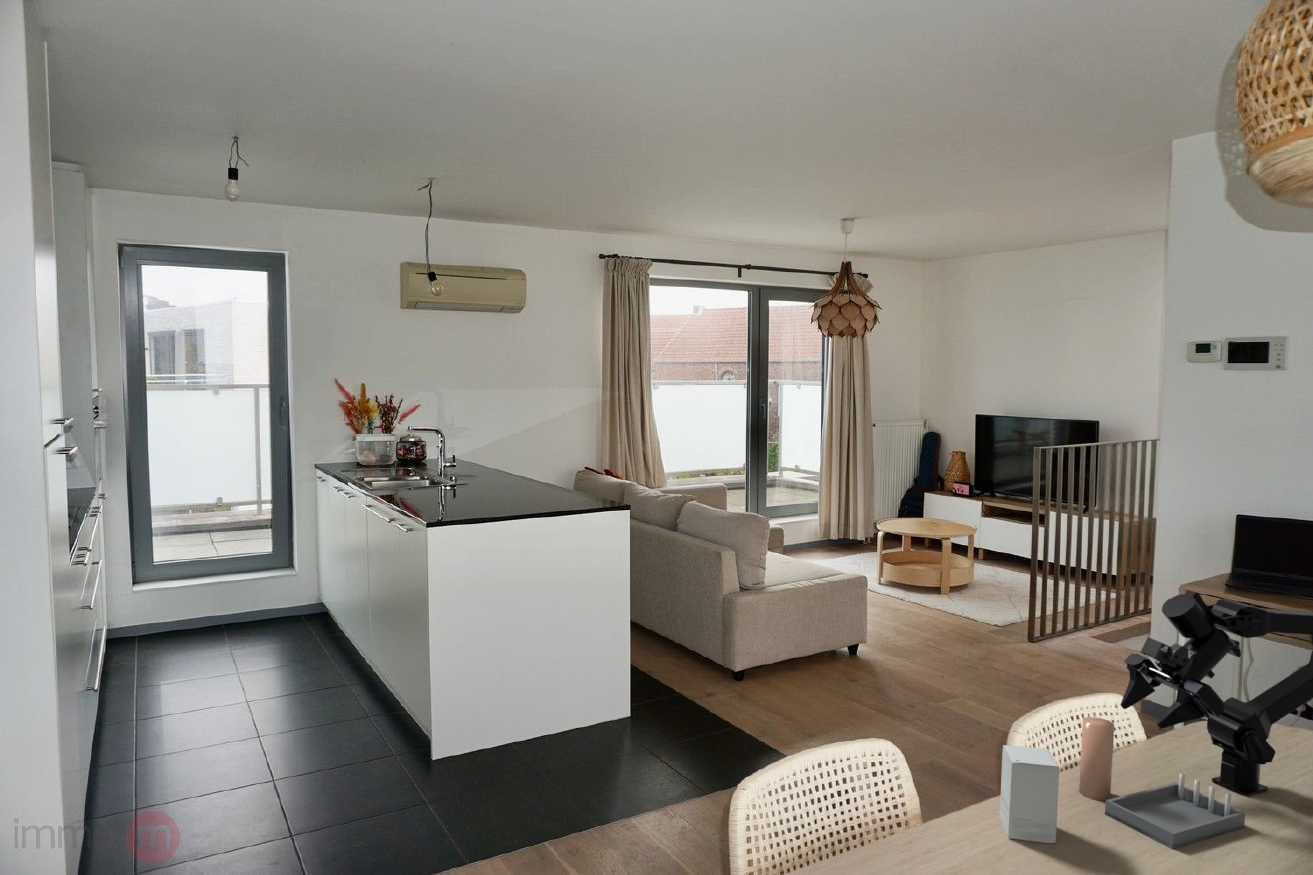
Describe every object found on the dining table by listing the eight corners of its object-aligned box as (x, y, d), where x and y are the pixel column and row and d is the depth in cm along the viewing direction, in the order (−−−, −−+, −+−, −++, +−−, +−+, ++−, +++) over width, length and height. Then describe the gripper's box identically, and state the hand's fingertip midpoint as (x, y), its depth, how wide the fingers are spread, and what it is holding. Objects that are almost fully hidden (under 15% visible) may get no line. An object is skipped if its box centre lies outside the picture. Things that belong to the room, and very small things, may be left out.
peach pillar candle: (1092, 785, 158) (1095, 715, 157) (1116, 797, 153) (1120, 725, 153) (1072, 789, 156) (1076, 719, 155) (1097, 802, 151) (1101, 729, 151)
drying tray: (1175, 795, 154) (1176, 768, 154) (1244, 827, 144) (1246, 797, 143) (1104, 813, 147) (1106, 785, 147) (1172, 848, 136) (1174, 817, 136)
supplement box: (1056, 844, 137) (1060, 766, 136) (1007, 839, 138) (1010, 761, 137) (1045, 822, 144) (1049, 747, 143) (998, 816, 145) (1001, 743, 145)
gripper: (1136, 610, 164) (1079, 668, 163) (1214, 639, 146) (1151, 704, 144) (1170, 651, 166) (1114, 709, 164) (1252, 684, 147) (1189, 749, 146)
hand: (1140, 716), depth 155 cm, fingers open, 9 cm apart
